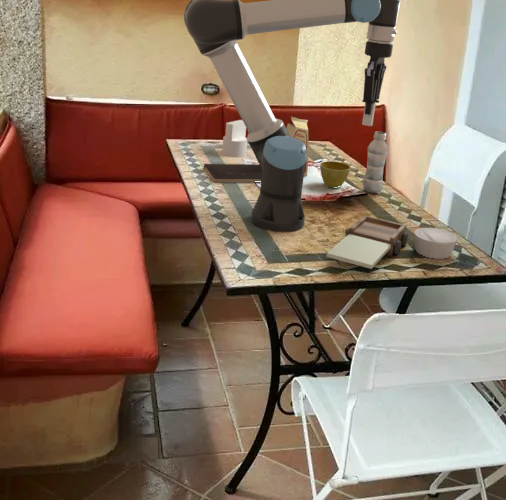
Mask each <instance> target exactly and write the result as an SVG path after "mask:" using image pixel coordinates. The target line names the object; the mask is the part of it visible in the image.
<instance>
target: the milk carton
mask: <svg viewBox="0 0 506 500" xmlns="http://www.w3.org/2000/svg"><path fill="white" fill-rule="evenodd" d="M290 118H291V120H290V121H289V122H288V123H287V126H286V129H287V131H288V133H289V135H290V137H292V138H295V139H296V140H300V141H301V142H303V143H304V144H305V146H306V154H307V159H306V162H305V170H304V177H307V176H308V169H309V153H310V152H309V149H310V148H309V147H310V144H309V141H310V140H309V128H308V121H309V120H308V119H300V118H298V117H293V116H290Z"/></svg>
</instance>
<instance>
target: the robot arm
mask: <svg viewBox="0 0 506 500" xmlns="http://www.w3.org/2000/svg"><path fill="white" fill-rule="evenodd" d="M400 5H401V0H263V1H251V2H242V1H241V0H190V1H189V2H188V4H187V5H186V6H185V10H184V13H183V19H184V20H183V21H184V25H185V27H186V30H187V31H188V34H189V35H190V37H191V39H193V42H194V43H195V45H196V47H197V48H198V51H199V52H200V54H201V55H202V56H205V57H208V58H209V59H210V62H211V64H212V66H213V68H214V69H215V70H216V73H217V74H218V76H219V78H220V80H221V82H222V85H223V86H224V88H225V89H226V92H227V93H228V95H229V97H230V99H231V102H232V103H233V105H234V106H235V109H236V110H237V113H238V115H239V117H240V118H241V120H243V122H244V124H245V126H246V131H248V134H247V137H246V138H247V144H248V145H249V146H250V148H251V150H252V152H253V155H254V156H255V158H256V160H257V162H258V164H260V166H261V169H262V176H261V183H260V186H259V187H260V191H259V195H258V197H257V200H256V202H255V205H254V206H253V208H252V211H251V218H250V219H251V223H252V224H254V225H255V226H256V227H259V228H260V229H264V230H268V231H274V232H293V231H298V230H300V229H302V228H304V227H305V221H306V216H305V211H304V207H303V200H302V194H303V193H302V192H303V184H304V177H305V176H304V170H305V162H306V159H307V154H306V146H305V144H304V143H303V142H301V141H300V140H296V139H295V138H292V137H290V135H289V133H288V131H287V129H286V128H287V126H286V125H285V123H284V122H283V120H282V119H279V118H276V116H275V115H274V113H273V111H272V109H271V107H270V105H269V103H268V102H267V99H266V97H265V95H264V93H263V91H262V90H261V87H260V85H259V83H258V82H257V79H256V77H255V75H254V73H253V71H252V69H251V68H250V65H249V63H248V62H247V60H246V57H245V55H244V53H243V52H242V49H241V48H240V46H239V44H238V41H240V40H244V39H245V38H246V37H247V36H248V35H253V34H254V35H256V34H261V33H262V34H263V33H271V32H280V31H289V30H296V29H297V30H298V29H305V28H312V27H313V28H314V27H319V26H320V27H321V26H331V25H338V24H346V23H356V22H357V23H360V24H361V23H362V24H364V23H368V27H367V32H366V39H367V41H366V42H365V48H364V54H365V55H366V56H369V57H370V58H369V61H368V63H367V65H366V66H367V67H365V68H364V84H363V86H364V87H363V98H362V101H361V102H362V103H364V110H363V114H362V116H363V117H362V123H361V125H362V126H368V127H372V126H373V123H374V116H375V112H376V111H375V110H376V105H377V103H380V100H379V99H380V94H381V90H382V87H383V81H384V77H385V73H386V70H387V65H386V63H385V59H386V58H388V59H389V58H391V57H392V54H393V47H394V45H393V42H394V40H395V35H397V33H398V31H397V30H396V27H397V21H398V16H399V10H400Z"/></svg>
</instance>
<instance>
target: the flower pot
mask: <svg viewBox="0 0 506 500" xmlns="http://www.w3.org/2000/svg"><path fill="white" fill-rule="evenodd" d="M319 164H320V165H319V166H320V167H319V168H320V174H321V178H322V181H323V183H324V185H326V186H325V187H327V186H328V187H327V188H329V187H338V186H341V187H342V186H343V184H344V183H345V181H346V180H347V178H348V175H349V173H350V171H351V168H352V167H351V166H350V165H349V164H347V163H344V162H339V161H335V160H334V161H332V160H331V161H330V160H329V161H327V160H326V161H322V162H320V163H319Z"/></svg>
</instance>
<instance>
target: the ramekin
mask: <svg viewBox="0 0 506 500" xmlns="http://www.w3.org/2000/svg"><path fill="white" fill-rule="evenodd" d="M413 237H414V249H415V250H414V251H416V253H417V254H419V255H420V256H421V255H422V257H424V256H425V257H424V258H427V257H429V258H428V259H431V258H434V259H433V260H445V258H446V259H448V258H449V257H451V255H452V254H453V251H454V249H455V246H456V244H457V243H458V237H457V236H456V235H455V234H454V233H453V232H451V231H448V230H445V229H441V228H435V227H421V228H417V229H415V230H414V232H413Z"/></svg>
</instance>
